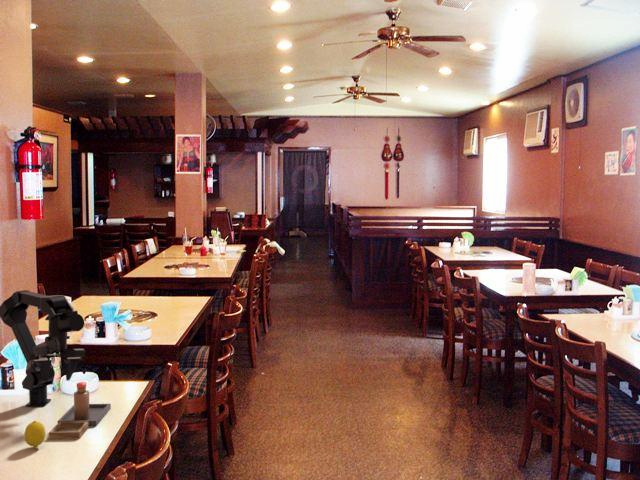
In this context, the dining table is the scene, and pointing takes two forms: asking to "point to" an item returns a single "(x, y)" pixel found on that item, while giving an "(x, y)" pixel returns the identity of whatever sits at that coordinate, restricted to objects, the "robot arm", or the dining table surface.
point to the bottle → (81, 402)
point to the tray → (95, 414)
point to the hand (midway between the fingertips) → (57, 380)
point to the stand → (69, 425)
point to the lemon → (35, 434)
